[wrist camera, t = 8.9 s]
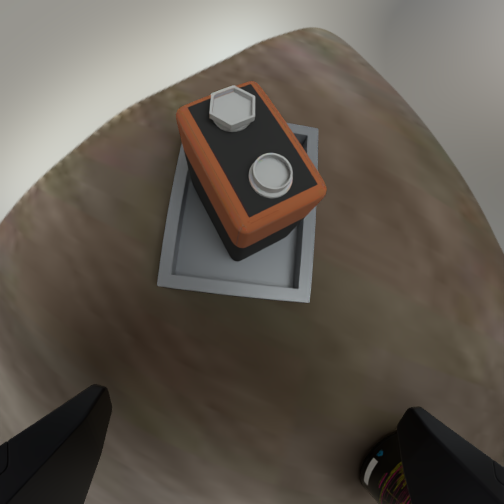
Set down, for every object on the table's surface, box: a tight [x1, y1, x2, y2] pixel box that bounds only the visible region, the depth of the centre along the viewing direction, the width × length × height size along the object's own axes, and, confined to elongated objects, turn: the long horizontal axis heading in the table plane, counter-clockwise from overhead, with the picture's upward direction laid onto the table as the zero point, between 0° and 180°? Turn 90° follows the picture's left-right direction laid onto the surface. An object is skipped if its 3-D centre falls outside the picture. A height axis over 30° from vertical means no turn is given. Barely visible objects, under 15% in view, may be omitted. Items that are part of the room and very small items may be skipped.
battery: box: [176, 81, 327, 261], centre depth 16 cm, size 4×7×10 cm, turn 28°
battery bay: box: [157, 123, 318, 303], centre depth 21 cm, size 13×10×2 cm
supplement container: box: [361, 433, 411, 504], centre depth 14 cm, size 7×7×10 cm
